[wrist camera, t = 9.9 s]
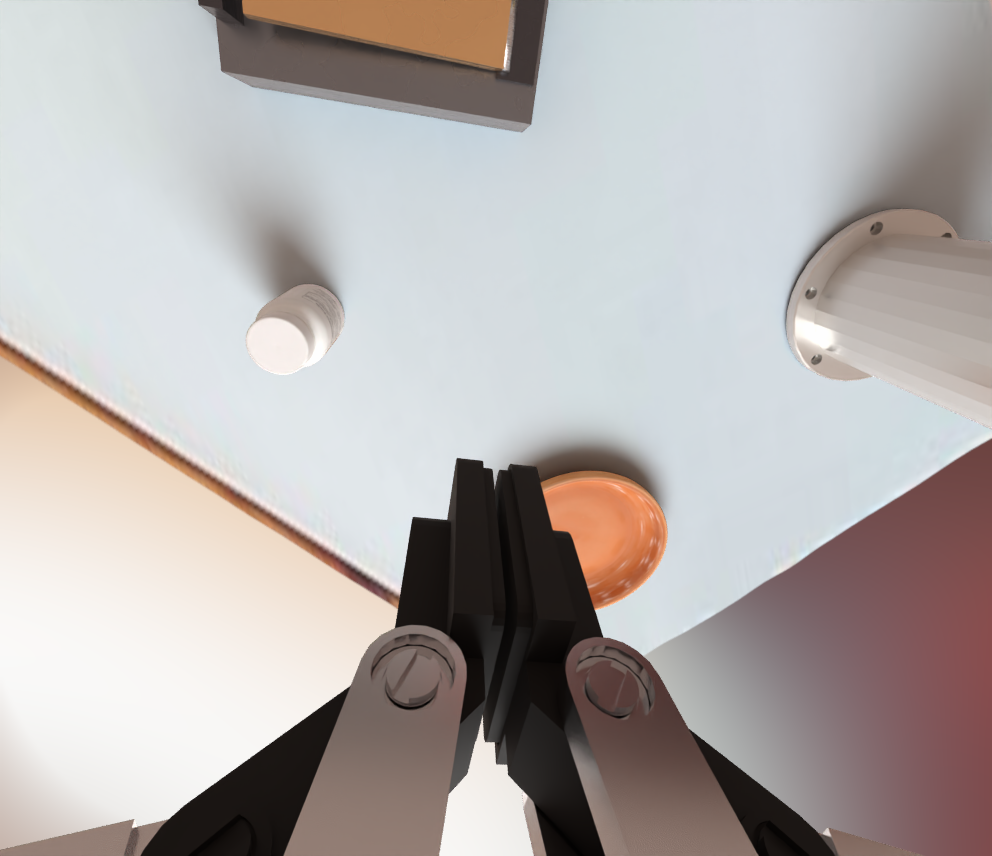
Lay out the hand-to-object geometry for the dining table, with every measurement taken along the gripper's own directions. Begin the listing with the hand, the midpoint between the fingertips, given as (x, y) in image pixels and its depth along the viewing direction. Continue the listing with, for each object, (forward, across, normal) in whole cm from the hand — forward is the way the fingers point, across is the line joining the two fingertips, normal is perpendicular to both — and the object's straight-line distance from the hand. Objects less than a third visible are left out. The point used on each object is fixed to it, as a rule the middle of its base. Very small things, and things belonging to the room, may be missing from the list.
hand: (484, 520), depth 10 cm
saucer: (+27, -13, +21) cm, 36 cm away
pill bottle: (+26, +11, +3) cm, 29 cm away
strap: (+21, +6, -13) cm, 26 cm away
